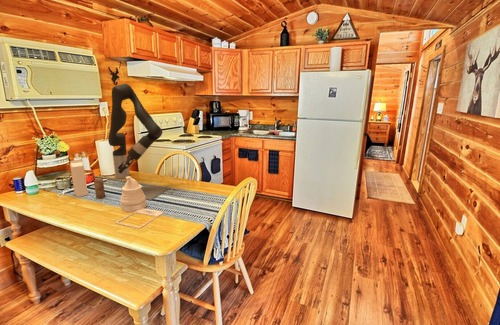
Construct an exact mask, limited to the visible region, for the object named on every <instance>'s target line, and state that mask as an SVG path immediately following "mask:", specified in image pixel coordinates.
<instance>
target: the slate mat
mask: <svg viewBox="0 0 500 325" xmlns="http://www.w3.org/2000/svg"><path fill="white" fill-rule="evenodd" d="M141 189H142V190H143V193H144V195H145V197H146V201H153V200H154V199H156V198H157V197H159V196H160V195H162V194H163V193H164V192H166V191H167V190H169V189H171V187H170V186H161V185H153V184H152V185H150V184H145V185H143V186H142V188H141Z"/></svg>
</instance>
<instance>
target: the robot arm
mask: <svg viewBox="0 0 500 325" xmlns="http://www.w3.org/2000/svg"><path fill="white" fill-rule="evenodd" d="M126 100H129V101H131V102H132V104H133V109H134V114H135V116H136V118H137V119H138V121H139V122H140V123H141V124H142V125H143V126H144V128H145V129H146V130H147V132H148V133H147V134H145V135H143V136H142V137H141V138H140V139H138V141H137V142H135V144H134V145H132V146H131V148H130V149H129V150H128V151H127V140H126V139H127V138H126V135H125V133H124V132H119V131H120V130H122V128H124V126H125V125H126V123H127V118H128V117H127V112H126V111H125V109H124V108H123V107H122V105H123V101H126ZM162 135H163V129H162V128H161V127H160V126H159V125H158V124H157V122H156V121H155V120H154V118H153V117H152V116H151V115H150V113H149V112H148V111H147V110H146V108H144V105H143V104H142V102H141V101H140V99H139V98H138V96H137V93H136V92H135V91H134V89H133V88H132V87H131V86H130V85H129V84H128V83H122V84H117V85H114V86H113V87H112V88H111V115H110V128H109V132H108V138H107V140H108V144H109V146H111V147H118V146H119V147H118V148H117V149H114V150H113V151H112V161H113V166H114V168H113V169H114V175H115V178H116V179H126V177H128V176H131V175H130V174H131V173H130V166H131V165H132V164H133V163H134V160H136V161H138V160H139V159H140V158H141V157H142V156H143V155H144V154H145V153H146V152H147V151H148V149H149V148H150V147H151V146H152V144H153V143H155V142H156V141H157V140H158V139H159V138H160V137H161V136H162Z"/></svg>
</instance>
